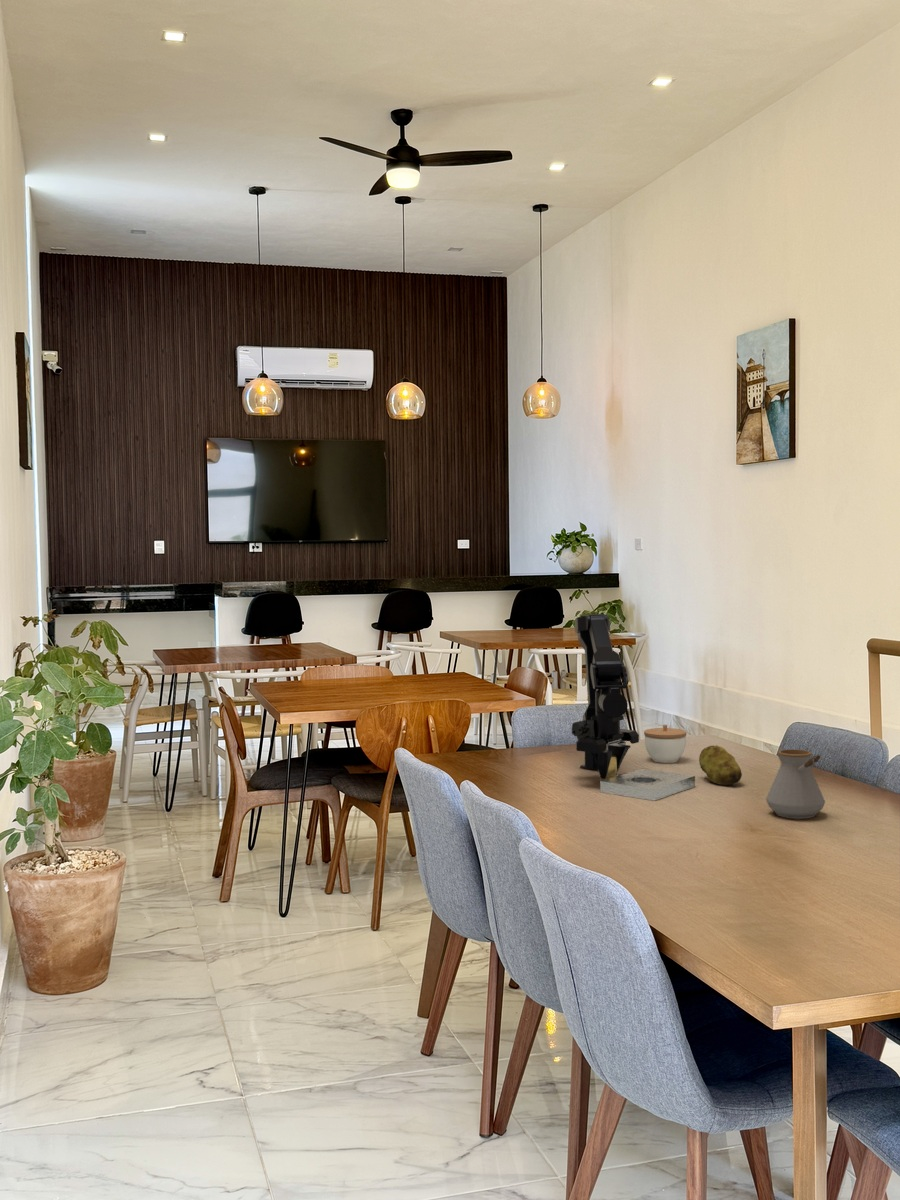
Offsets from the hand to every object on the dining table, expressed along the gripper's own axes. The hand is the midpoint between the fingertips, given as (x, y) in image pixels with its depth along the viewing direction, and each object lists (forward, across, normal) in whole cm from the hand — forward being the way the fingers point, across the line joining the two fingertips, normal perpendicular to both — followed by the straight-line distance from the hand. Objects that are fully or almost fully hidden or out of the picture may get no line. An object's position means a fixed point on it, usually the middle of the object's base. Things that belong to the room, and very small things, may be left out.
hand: (608, 776), depth 257 cm
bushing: (+1, 0, 0) cm, 1 cm away
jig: (+1, +2, +12) cm, 12 cm away
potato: (+1, -15, +21) cm, 26 cm away
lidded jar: (+1, -30, -2) cm, 30 cm away
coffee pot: (+1, +8, +51) cm, 52 cm away
